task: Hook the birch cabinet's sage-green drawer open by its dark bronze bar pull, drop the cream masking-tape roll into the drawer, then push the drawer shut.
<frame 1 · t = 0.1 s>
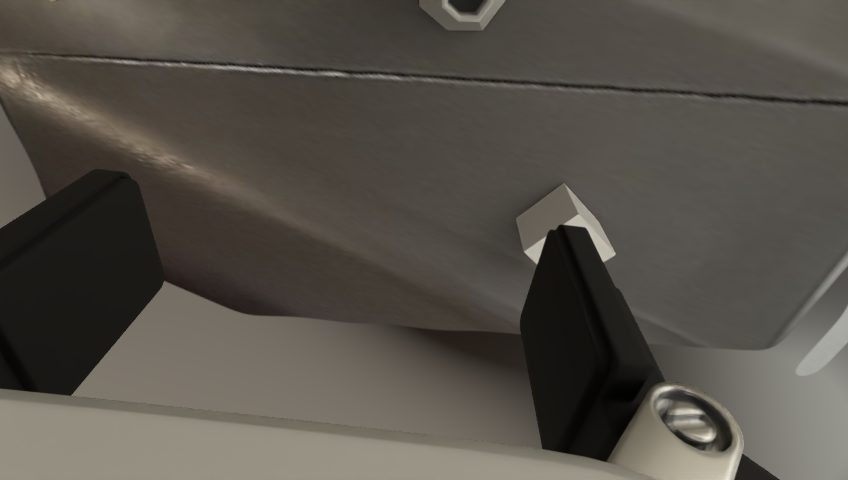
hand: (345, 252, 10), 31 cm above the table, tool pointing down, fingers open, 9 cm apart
light grey cube: (556, 218, 46), on the table
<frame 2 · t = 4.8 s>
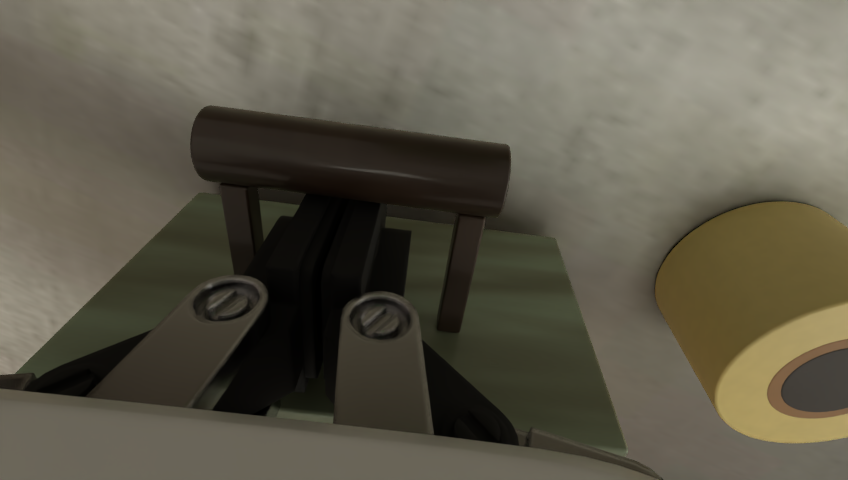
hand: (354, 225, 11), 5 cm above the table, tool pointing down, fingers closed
drawer: (354, 395, 15), point 5 cm above the table, slide at 2.8 cm
tape roll: (744, 274, 17), on the table
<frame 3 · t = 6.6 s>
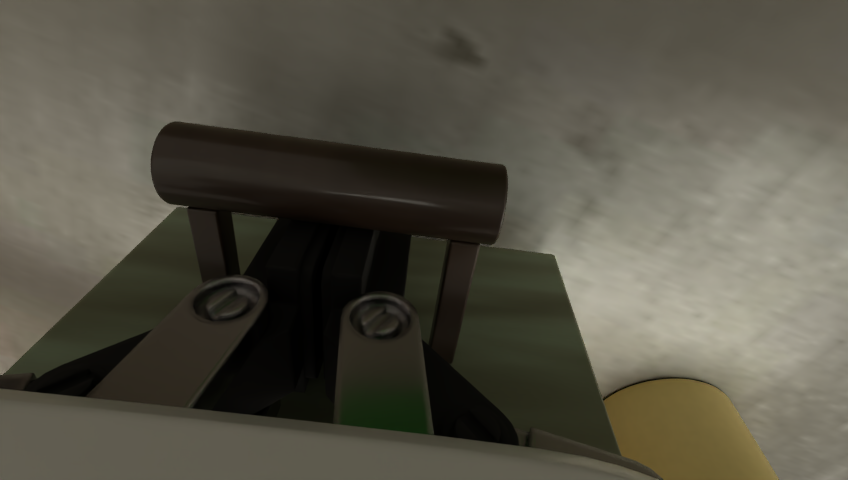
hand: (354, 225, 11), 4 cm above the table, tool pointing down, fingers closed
drawer: (341, 422, 14), point 5 cm above the table, slide at 11.1 cm, touching gripper
tape roll: (656, 422, 21), on the table
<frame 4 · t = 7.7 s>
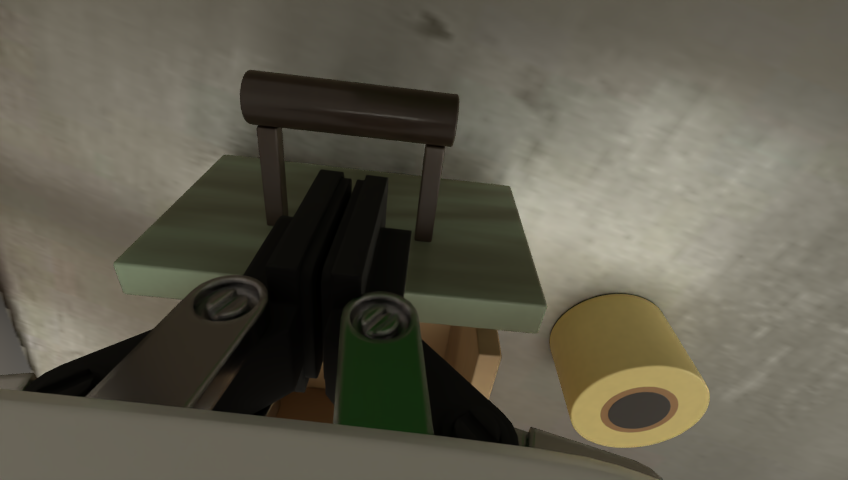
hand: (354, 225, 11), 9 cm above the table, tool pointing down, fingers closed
drawer: (352, 312, 19), point 5 cm above the table, slide at 11.0 cm
tape roll: (606, 336, 26), on the table
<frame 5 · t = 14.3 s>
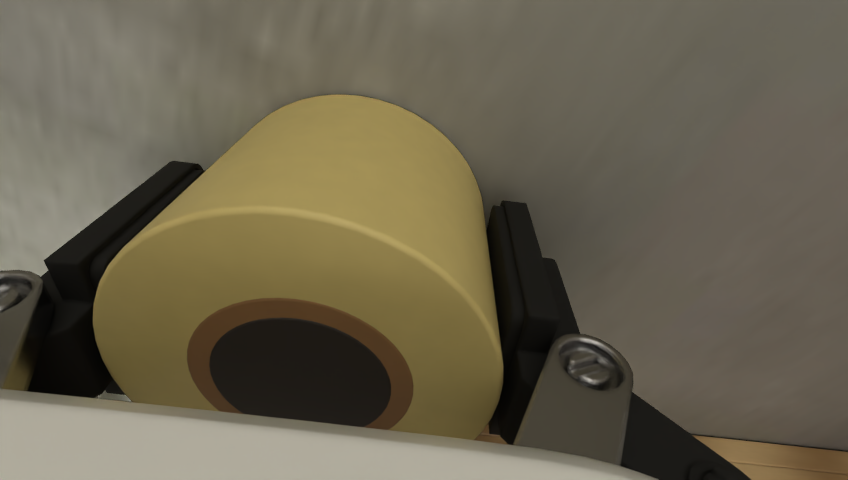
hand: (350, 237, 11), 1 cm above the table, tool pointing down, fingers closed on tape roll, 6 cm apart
tape roll: (355, 222, 11), on the table, touching gripper
when the fingers open (9 cm above the table, at t = 19.2 s): tape roll drops 6 cm, resting on drawer.
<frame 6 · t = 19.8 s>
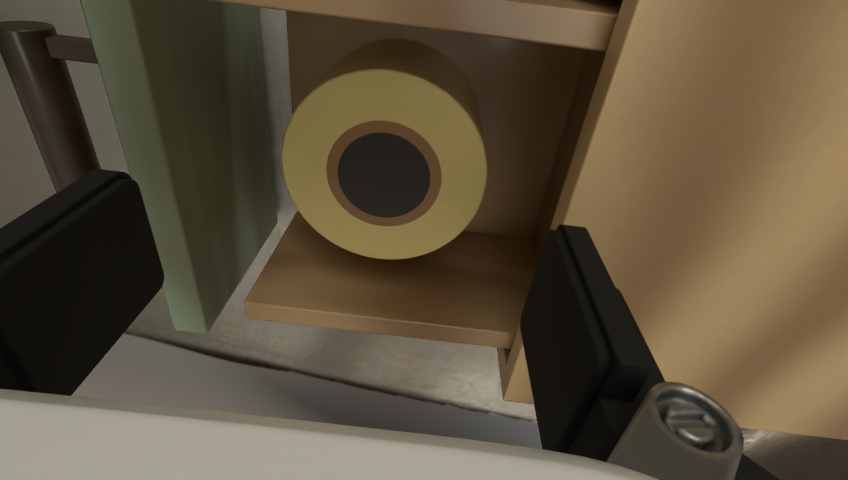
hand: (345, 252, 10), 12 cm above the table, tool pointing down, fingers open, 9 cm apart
cabinet: (682, 145, 20), on the table
drawer: (329, 144, 16), point 5 cm above the table, slide at 10.9 cm, touching tape roll
tape roll: (399, 125, 18), point 2 cm above the table, touching drawer
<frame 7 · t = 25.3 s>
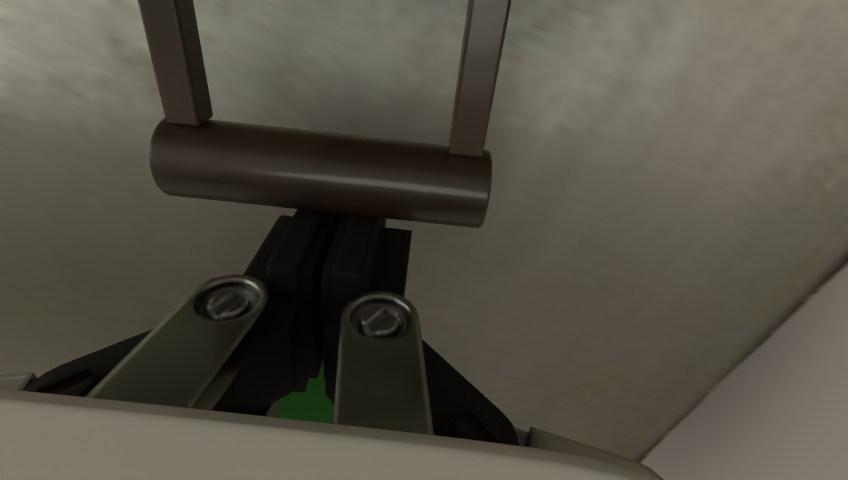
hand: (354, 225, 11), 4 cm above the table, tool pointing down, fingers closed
hardback book: (297, 454, 25), on the table
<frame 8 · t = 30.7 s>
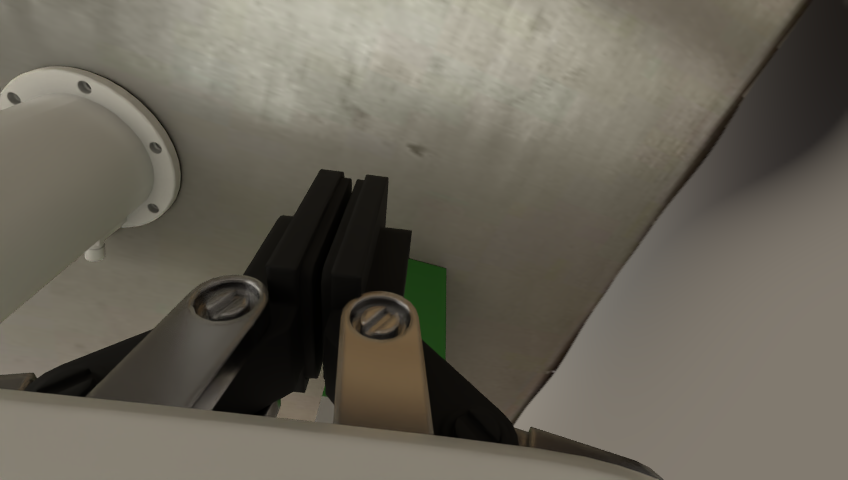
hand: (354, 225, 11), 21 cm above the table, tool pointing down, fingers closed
hardback book: (382, 325, 43), on the table
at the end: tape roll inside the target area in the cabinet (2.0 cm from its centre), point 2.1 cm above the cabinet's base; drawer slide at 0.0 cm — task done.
